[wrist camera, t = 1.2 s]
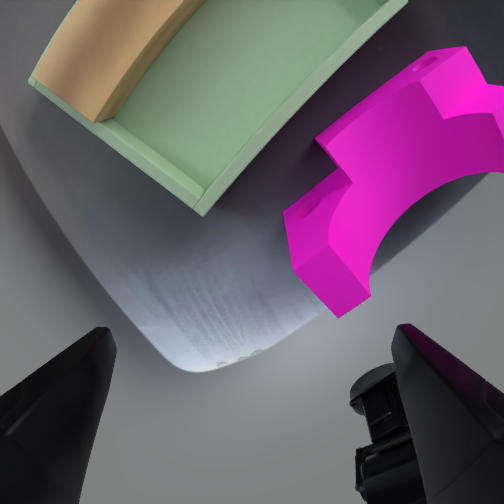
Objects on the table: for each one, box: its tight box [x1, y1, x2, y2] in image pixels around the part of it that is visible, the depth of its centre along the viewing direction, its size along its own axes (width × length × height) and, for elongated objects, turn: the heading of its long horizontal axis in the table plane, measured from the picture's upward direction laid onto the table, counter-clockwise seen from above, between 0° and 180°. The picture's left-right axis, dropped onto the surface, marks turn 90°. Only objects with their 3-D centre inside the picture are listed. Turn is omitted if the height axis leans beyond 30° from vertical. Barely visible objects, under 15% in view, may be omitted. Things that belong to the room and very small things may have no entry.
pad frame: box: [28, 0, 408, 217], centre depth 15 cm, size 15×18×2 cm
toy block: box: [283, 46, 504, 318], centre depth 16 cm, size 15×6×8 cm, turn 132°
